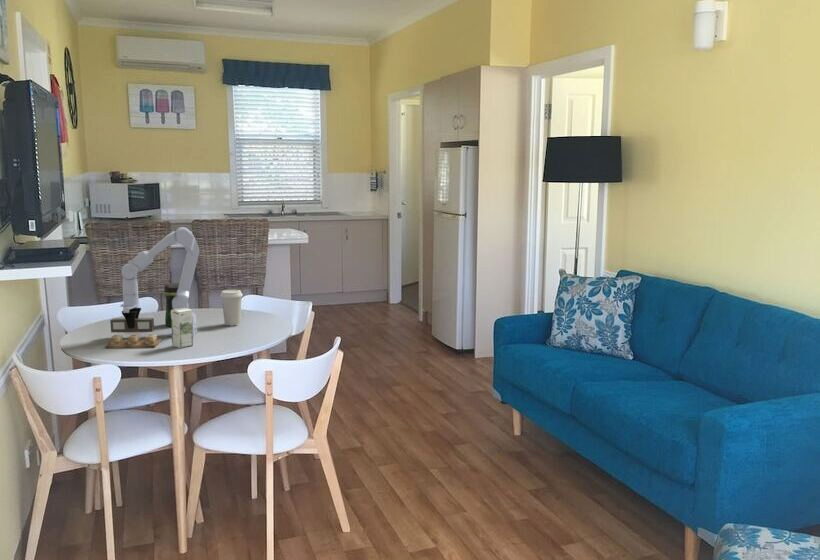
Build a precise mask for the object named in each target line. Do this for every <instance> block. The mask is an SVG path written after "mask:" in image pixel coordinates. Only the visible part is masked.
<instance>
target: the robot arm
mask: <svg viewBox="0 0 820 560" xmlns="http://www.w3.org/2000/svg"><path fill="white" fill-rule="evenodd" d="M178 243H179V244H180V245H181V246H183V248H184V249H185V251H186V255H185V258H184V259H185V260H184V264H183V267H182V271H181V275H180V276H181V277H180V279H179V282H178V283H179V287H178V290H177V293H176V296H175V297H174V298H173V300H172V306H173V310H174V309H180V308H188V309H190V304H189V299H190V298H189V297H190V290H191V286H192V284H193V278H194V275H195V272H196V266H197V263H198V258H199V255H200V248H199V245H198V242H197V240H196V238H195V235H194V234H193V232H192V231H191V230H190V229H188V228H187V227H186V226H185V227H184V226H179V227H178V228H177V229H175V230H174V231H172V232H169V234H167V235H165V236H164V237H163V238H162V239H161V240H160V241H158V242H157V243H156V244H155V245H154V246H153V247H152V248H149V250H142V251H139V252H137V255H136V256H135V257H133V258H132V259H131V260H128V261H127V263H126V264H124V265H123V266H122V267H121V271H120V272H121V273H120V274H121V275H122V279H121V280H122V283H121V284H122V286H121V287H122V300H123V303H122V304H120V307H121V308H122V311H121V314H122V316H123V318H124V319H126V322H127V326H128V328H134V326H135V318H139V316H140V313H141V311H142V308H141V307H140V299H139V298H140V297H139V285H138V284H139V283H138V279H137V278H138V277H137V275H138V273H140V272H141V273H142V271H144V270H145V269H146V268H147V267H149V266H150V265H151V264H152V263H153V262H154V257H156V256H158V255H159V254H160V253H162V252H163V251H164V250H165V249H167V248H168V247H169V246H173V245H178ZM192 329H193V336H194V335H195V334H196V333H197V332H198V331H197V315H196V313H194V312H192ZM169 337H172V332H171V333H170V334H169Z"/></svg>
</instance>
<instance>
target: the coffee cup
mask: <svg viewBox="0 0 820 560" xmlns="http://www.w3.org/2000/svg"><path fill="white" fill-rule="evenodd" d="M243 295H244V294H243V293H242V291H241V290H240V289H226V290H222V291H221V294H220V296H219V297H220V298H221V305H222V312H223V313H222V314H223V320H224V326H225V325H237V324H240V325H241V318H242V317H241V315H242V299H243Z"/></svg>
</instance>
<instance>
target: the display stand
mask: <svg viewBox="0 0 820 560" xmlns="http://www.w3.org/2000/svg"><path fill="white" fill-rule="evenodd" d="M123 338H124V337H123V334H113V335H112V336H111V337H110V338H109V339H110V342H108V344H106V345H105V349H149V348H150V349H151V348H152V349H153V348H154V349H155V348H156V347H157V346H158V345H159V344H160V343H162V338H158V334H156V333H154V334H153V333H152V334H151V333H150V334H148V335H146V336H145V338H141V335H140V334H131V335H130V336H128V337H127V338H126V339H125V338H124V339H123Z"/></svg>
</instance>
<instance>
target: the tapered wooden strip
mask: <svg viewBox="0 0 820 560" xmlns="http://www.w3.org/2000/svg"><path fill="white" fill-rule="evenodd" d="M154 320H155V318H154V317H150V318H149V317H147V318H146V317H141V318H140V317H138V318H135V326H134V328H128V326H127V322H126V319H125V318H112V319H110V320H109V322H110V333H151V332H152V333H153V332H154V331H155V321H154Z"/></svg>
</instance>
